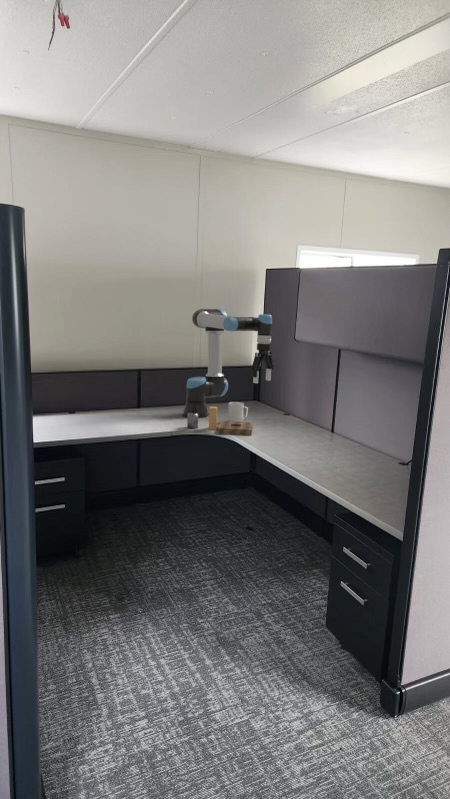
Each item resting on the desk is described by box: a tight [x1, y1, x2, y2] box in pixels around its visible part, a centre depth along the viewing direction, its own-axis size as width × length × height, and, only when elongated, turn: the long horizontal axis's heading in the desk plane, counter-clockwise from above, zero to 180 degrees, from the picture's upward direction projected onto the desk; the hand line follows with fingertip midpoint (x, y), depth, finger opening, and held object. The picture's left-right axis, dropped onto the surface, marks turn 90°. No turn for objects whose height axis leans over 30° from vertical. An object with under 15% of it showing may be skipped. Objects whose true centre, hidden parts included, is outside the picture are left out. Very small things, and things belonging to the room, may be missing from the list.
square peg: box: [208, 406, 218, 431], centre depth 299 cm, size 4×4×12 cm
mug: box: [227, 401, 249, 422], centre depth 317 cm, size 12×9×11 cm
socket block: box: [217, 420, 254, 436], centre depth 297 cm, size 18×18×3 cm
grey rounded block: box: [186, 413, 199, 430], centre depth 300 cm, size 6×6×8 cm
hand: (261, 381), depth 298 cm, fingers open, 13 cm apart
